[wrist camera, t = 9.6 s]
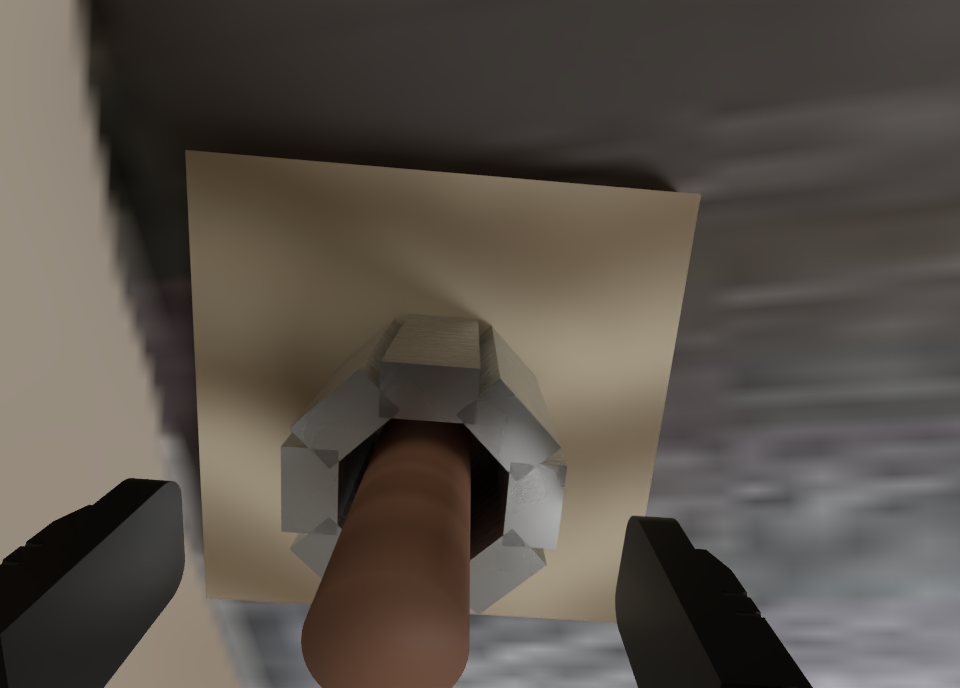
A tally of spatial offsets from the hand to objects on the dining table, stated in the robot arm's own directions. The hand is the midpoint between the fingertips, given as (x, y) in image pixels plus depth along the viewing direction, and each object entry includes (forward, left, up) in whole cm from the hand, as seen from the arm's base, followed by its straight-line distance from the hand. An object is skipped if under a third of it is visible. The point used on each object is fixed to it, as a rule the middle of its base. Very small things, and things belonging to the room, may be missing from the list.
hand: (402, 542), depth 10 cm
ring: (0, 0, -7) cm, 7 cm away
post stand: (0, 0, -8) cm, 8 cm away
